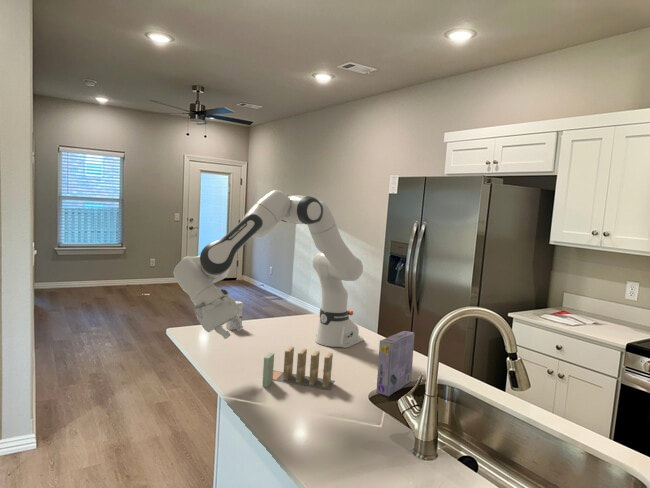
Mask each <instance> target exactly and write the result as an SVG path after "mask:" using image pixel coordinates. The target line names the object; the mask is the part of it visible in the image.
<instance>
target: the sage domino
mask: <svg viewBox="0 0 650 488" xmlns="http://www.w3.org/2000/svg"><path fill="white" fill-rule="evenodd" d="M274 362H275V352H269V353H267V354H266V355H265V356H264V357H263V370H262V386H261V387H264V388H268V387H269V386H270V385H271V384H272V383H273V382H274V381H273V371H274V368H275V367H274V366H275V363H274Z"/></svg>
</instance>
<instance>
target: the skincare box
mask: <svg viewBox="0 0 650 488" xmlns="http://www.w3.org/2000/svg"><path fill="white" fill-rule="evenodd" d="M234 301H235V302H236V304H237V305H238V306H239V308H240V310H241V313H240V314H239V315H238V318H239V320H240V323H241V325H242V326H243V311H244V310H243V309H244V303H243V302H242V301H240V300H238V301H237V300H234ZM225 324H226V329H228V331H231V330H232V331H233V330H237V329H236V328H235V327H236V326H235V324H234V322H232V321H231V320H230V321H229V322H227V323H225Z"/></svg>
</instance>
